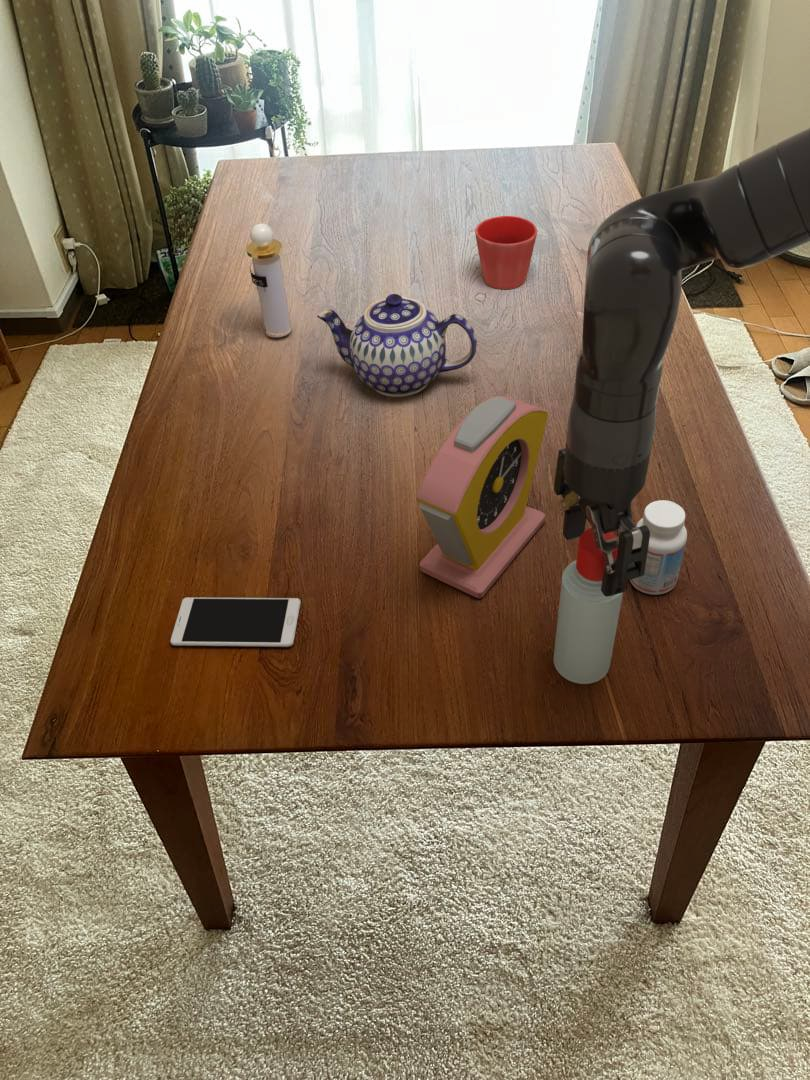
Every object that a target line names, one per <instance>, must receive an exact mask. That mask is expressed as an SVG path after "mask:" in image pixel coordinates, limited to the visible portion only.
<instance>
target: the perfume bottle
mask: <svg viewBox="0 0 810 1080" xmlns="http://www.w3.org/2000/svg"><path fill="white" fill-rule="evenodd" d="M249 236H250V237H249V238H250V240H251V242H250V243H248V244H247V245H246V247H245V251H246V254H247V256H248V257H250V258H251V262H252V268H253V271H252V269H251V267H249V273H250V277H251V282H252V284H253V285H255V286H256V289H257V294H258V300H259V304H260V305H259V306H260V311H261V315H262V321H263V325H264V326H263V327H264V331H265V329H266V331H267V332H270V333H273V334H274V333H275V334H278V333H284V332H286V331H288V330H289V329H290V328H291V330H290V331H289V332H288V333H287V334H285V335H281V336H271V335H269V334H267V333H266V331H265V334H266V335H267V336H268V337H272V338H282V337H285V336H287V335H289V334H290V333H291V332H292V322H291V315H290V311H289V309H290V308H289V303H288V297H287V291H286V286H285V285H286V284H285V279H284V273H283V268H282V261H281V255H280V253H281V252H283V245H282V242H281V241H280V240H278V239H275V238H274V232H273V229H272V228H271V226H269V224H266V223H265V222H258V223H256V224H254V225H253V226H252V227H251V229H250V233H249ZM253 272H254V273H253Z"/></svg>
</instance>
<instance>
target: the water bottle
mask: <svg viewBox="0 0 810 1080" xmlns="http://www.w3.org/2000/svg"><path fill="white" fill-rule="evenodd" d="M576 560H577V559H575V560H573V561H572V562H570V563H569V564H568V565H567V566H566V567H565V568H564V570H563V572H562V576H561V585H560V594H559V603H558V613H557V622H556V631H555V639H554V648H553V649H554V650H553V659H552V660H553V665H554V668H555V670H556V671H557V673H558V674H559V675H560V676H561V677H562V678H564V679H565V680H567V681H570V682H572V683H574V684H580V685H590V684H594V683H597V682H599V681H601V680H602V679H604V678H605V677H606V676H607V674H608V672H609V670H610V667H611V662H612V656H613V649H614V645H615V640H616V633H617V628H618V624H619V619H620V613H621V608H622V602H623V596H624V592H622V593H619V594H616V595H613V596H608V597H605V596H604V594H603V593H602V592H601V585H602V581H592V580H588V579H586V578H584V577H583V576H581V575H580V574H579V573H578V571H577V569H576Z"/></svg>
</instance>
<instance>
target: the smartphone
mask: <svg viewBox="0 0 810 1080" xmlns="http://www.w3.org/2000/svg"><path fill="white" fill-rule="evenodd" d="M301 603H302V602H301V599H300V598H297V597H198V596H197V597H195V596H194V597H189V596H188V597H184V598H183V599H182V600H181V603H180V607H179V610H178V614H177V617H176V619H175V623H174V627H173V630H172V633H171V636H170V641H169V642H170V644H171V645H172V646H174V647H243V648H244V647H249V648H250V647H251V648H253V647H254V648H255V647H256V648H260V647H262V648H289V647H290V648H291V647H292V646H293V645H294V641H295V636H296V631H297V627H298V626H297V625H298V620H299V615H300V609H301Z"/></svg>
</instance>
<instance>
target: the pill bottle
mask: <svg viewBox="0 0 810 1080" xmlns="http://www.w3.org/2000/svg"><path fill="white" fill-rule="evenodd" d="M685 522H686V512H685V510H684V509H683V507H682V506H680V504H678V503H677V502H674V501H671V500H666V499H659V500H655V501H651V502H650V503H649V504H647V506H646V507H645V508H644V511H643V515H642V518H641V519H639V521H638V522H637V524H635V525H636V526H637V527H640V526H644V525H646V526H647V527H648V528H649V531H650V539H649V546H648V553H647V559H646V566H645V573H644V576H641V577H637V578H634V579H631V580H629V583H631V585H632V586H633V587H634V588H635V589H636V590H637V591H639V592H641V593H643V594H647V595H651V596H654V595H655V596H659V595H664V594H667V593H669V592H670V591H672V590H673V589H674V588H675V587H676V585H677V583H678V579H679V576H680V572H681V571H680V570H681V566H682V562H683V559H684V558H683V557H684V554H685V549H686V545H687V539H688V531H687V528H686V527H685Z"/></svg>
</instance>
